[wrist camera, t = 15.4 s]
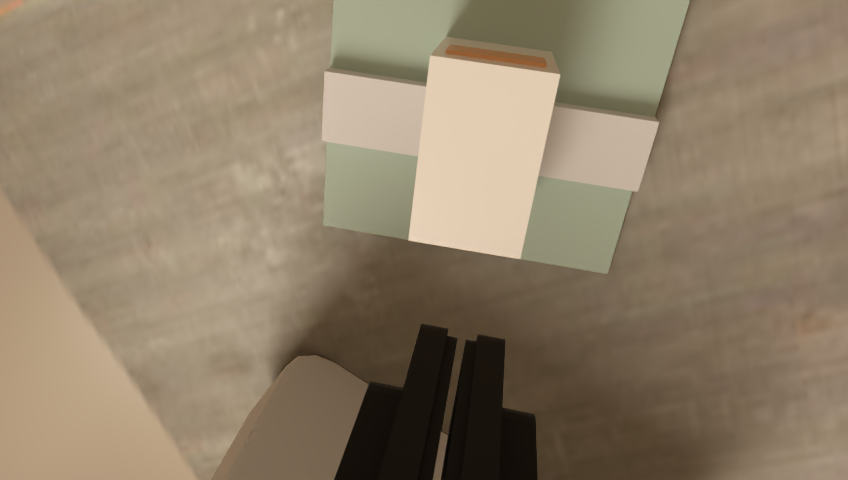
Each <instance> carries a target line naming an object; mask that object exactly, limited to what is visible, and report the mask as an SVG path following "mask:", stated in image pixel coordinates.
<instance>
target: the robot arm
mask: <svg viewBox="0 0 848 480" xmlns="http://www.w3.org/2000/svg"><path fill="white" fill-rule="evenodd" d="M447 333H448V329H446V328H441V327H436V326H431V325H425V324H421V327H420V330H419V334H418V338H417V341H416V345H415V348H414V352H413V356H412V359H411V363H410V366H409V370H408V373H407V377H406V381H405V384H404V388H400V387H395V386H390V385H385V384H380V383H375V382H370V384H369V386H368V388H367V390H366V393H365V396H364V399H363V401H362V404H361V407H360V410H359V412H358V415H357V418H356V421H355V423H354V426H353V429H352V432H351V434H350V437H349V440H348V443H347V445H346V448H345V451H344V454H343V456H342V459H341V462H340V465H339V467H338V470H337V473H336V476H335V478H334V480H433V476H434V470H435V464H436V459H437V453H438V447H439V441H440V436H441V430H442V424H443V418H444V412H445V407H446V401H447V395H448V389H449V384H450V378H451V372H452V366H453V361H454V355H455V349H456V343H457V338H455V337H449V336H447ZM504 357H505V339H499V338H494V337H489V336H483V335H478V336H477V340H476V341H470V340H466V342H465V347H464V353H463V358H462V363H461V369H460V374H459V380H458V385H457V390H456V396H455V401H454V406H453V412H452V417H451V422H450V428H449V433H448V438H447V444H446V450H445V456H444V462H443V468H442V474H441V480H537V451H536V421H535V415H534V414H530V413H525V412H520V411H515V410H510V409H505V408H502V400H503V378H504Z"/></svg>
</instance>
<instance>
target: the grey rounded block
mask: <svg viewBox="0 0 848 480" xmlns="http://www.w3.org/2000/svg"><path fill="white" fill-rule="evenodd" d="M368 386H369V384H367V383H366V382H364V381H363V380H361V379H359V378H358V377H356V376H355V375H353V374H352V373H350V372H349V371H347V370H345V369H344V368H342V367H341V366H339V365H338V364H336V363H335V362H332V361H330V360H327V359H325V358H322V357H320V356H317V355H310V356H298V357H296V358H295V359H294V360H293V361H292V362H290V363H289V364H288V365H287V366H286V367H285V368H284V369H283V371H282V372H281V373H280V374H279V376H278V377H277V378H276V380H275V381H274V382H273V384H272V385H271V386H270V387H269V389H268V390H267V391H266V393H265V394H264V395H263V397H262V398H261V399H260V400H259V402H258V403H257V404H256V406H255V407H254V408H253V410H252V411H251V412H250V413H249V415H248V417H247V419H246V420H245V422H244V424H243V426H242V427H241V429H240V431H239V432H238V434H237V436H236V438H235V439H234V441H233V443H232V444H231V446H230V448H229V450H228V451H227V453H226V455H225V457H224V458H223V460H222V462H221V463H220V465H219V467H218V469H217V470H216V472H215V474H214V476H213V477H212V479H211V480H334V478H335V476H336V473H337V470H338V467H339V465H340V462H341V459H342V456H343V454H344V451H345V448H346V445H347V443H348V440H349V437H350V434H351V432H352V429H353V426H354V423H355V421H356V418H357V415H358V412H359V410H360V407H361V404H362V401H363V399H364V396H365V393H366V390H367V388H368ZM447 438H448V435H446V434H445V433H443V432H442V431H441V436H440V441H439V447H438V453H437V459H436V464H435V470H434V476H433V480H441V474H442V468H443V462H444V456H445V450H446V444H447Z"/></svg>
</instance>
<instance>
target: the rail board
mask: <svg viewBox="0 0 848 480" xmlns="http://www.w3.org/2000/svg"><path fill="white" fill-rule="evenodd" d="M689 2H690V0H334V3H333V24H332V45H331V66H330V68H329V69H328V70H326V71H325V74H324V98H323V121H322V141H325V142H327V151H326V172H325V193H324V214H323V225H324V226H330V227H335V228H341V229H347V230H353V231H359V232H365V233H371V234H376V235H382V236H388V237H394V238H400V239H406V240H408V238H409V230H410V221H411V213H412V204H413V196H414V187H415V179H416V170H417V162H418V153H419V145H420V136H421V128H422V119H423V111H424V102H425V94H426V85H427V77H428V68H429V60H430V55H431V54H432V53H433V51H434V50H435V49H436V48H437V47H438V45H439V44H440V43H441V42H442V41H443V40H444V38H445V37H453V38H460V39H467V40H474V41H481V42H488V43H495V44H502V45H509V46H516V47H523V48H530V49H537V50H544V51H551V52H552V54H553V57H554V59H555V62H556V64H557V67H558V69H559V72H560V79H559V84H558V88H557V93H556V97H555V102H554V107H553V111H552V116H551V120H550V125H549V129H548V134H547V139H546V143H545V148H544V152H543V157H542V162H541V166H540V171H539V175H538V180H537V185H536V189H535V194H534V198H533V203H532V208H531V212H530V217H529V221H528V226H527V231H526V235H525V240H524V244H523V249H522V254H521V258H520V259H522V260H528V261H534V262H540V263H546V264H552V265H558V266H563V267H569V268H575V269H581V270H587V271H593V272H598V273H604V274H608V270H609V267H610V264H611V260H612V257H613V254H614V251H615V247H616V244H617V241H618V237H619V234H620V231H621V227H622V224H623V221H624V217H625V214H626V211H627V207H628V204H629V201H630V197H631V194H632V191H636V192H638V190H639V187H640V184H641V181H642V177H643V174H644V171H645V168H646V164H647V161H648V158H649V155H650V151H651V148H652V145H653V142H654V138H655V135H656V132H657V128H658V125H659V121H658V120H657V119H656V118H655V115H656V111H657V108H658V105H659V101H660V98H661V95H662V91H663V88H664V85H665V81H666V78H667V75H668V72H669V68H670V65H671V62H672V58H673V55H674V52H675V48H676V45H677V42H678V38H679V35H680V32H681V28H682V25H683V22H684V18H685V15H686V12H687V9H688V5H689Z"/></svg>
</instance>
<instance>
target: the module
mask: <svg viewBox="0 0 848 480" xmlns="http://www.w3.org/2000/svg"><path fill="white" fill-rule="evenodd" d="M559 79H560V72H559V69H558V67H557V64H556V62H555V59H554V57H553V54H552V52H551V51H544V50H537V49H530V48H523V47H516V46H509V45H502V44H495V43H488V42H481V41H474V40H467V39H460V38H453V37H445V38H444V40H443V41H442V42H441V43H440V44H439V45H438V47H437V48H436V49H435V50H434V51H433V53H432V54H431V55H430V60H429V68H428V77H427V85H426V94H425V102H424V111H423V119H422V128H421V136H420V145H419V153H418V162H417V170H416V179H415V187H414V196H413V204H412V213H411V221H410V230H409V238H408V241H414V242H420V243H426V244H432V245H438V246H444V247H450V248H456V249H462V250H468V251H474V252H480V253H486V254H491V255H497V256H503V257H509V258H515V259H520V258H521V254H522V249H523V244H524V240H525V235H526V231H527V226H528V221H529V217H530V212H531V208H532V203H533V198H534V194H535V189H536V185H537V180H538V175H539V171H540V166H541V162H542V157H543V152H544V148H545V143H546V139H547V134H548V129H549V125H550V120H551V116H552V111H553V107H554V102H555V97H556V93H557V88H558V84H559Z"/></svg>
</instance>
